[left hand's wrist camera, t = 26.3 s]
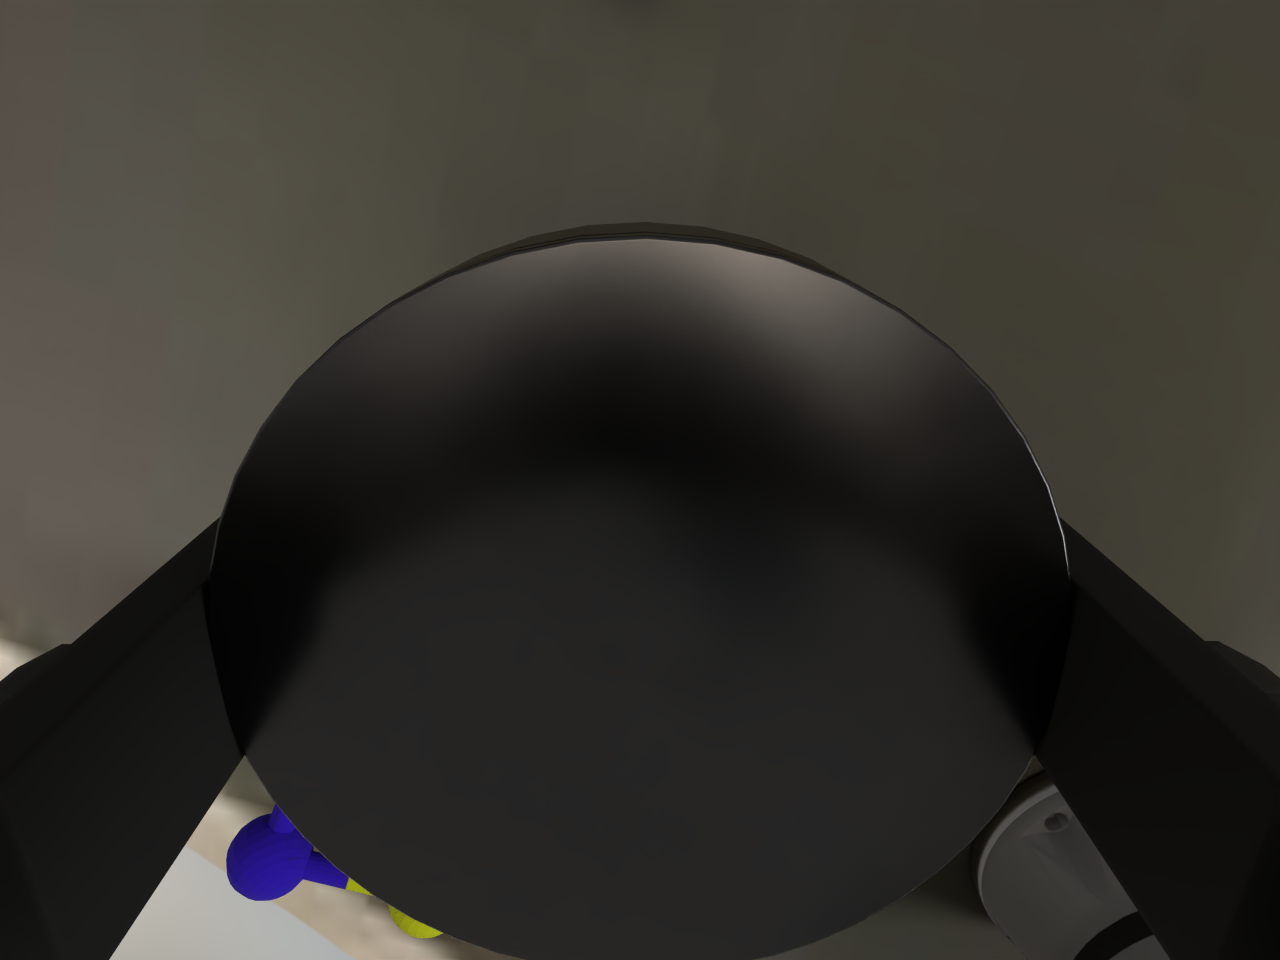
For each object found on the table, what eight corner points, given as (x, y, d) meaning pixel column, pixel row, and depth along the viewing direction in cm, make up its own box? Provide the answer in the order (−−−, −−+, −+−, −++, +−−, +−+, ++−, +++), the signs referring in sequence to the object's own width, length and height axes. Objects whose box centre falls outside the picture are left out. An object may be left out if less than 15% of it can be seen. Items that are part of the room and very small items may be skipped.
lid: (372, 897, 14) (334, 1002, 13) (167, 276, 10) (68, 301, 9) (990, 842, 14) (1043, 943, 12) (1030, 170, 10) (1117, 172, 8)
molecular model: (437, 537, 43) (565, 771, 34) (468, 656, 52) (577, 868, 43) (136, 660, 38) (195, 976, 29) (226, 770, 46) (293, 1040, 37)
